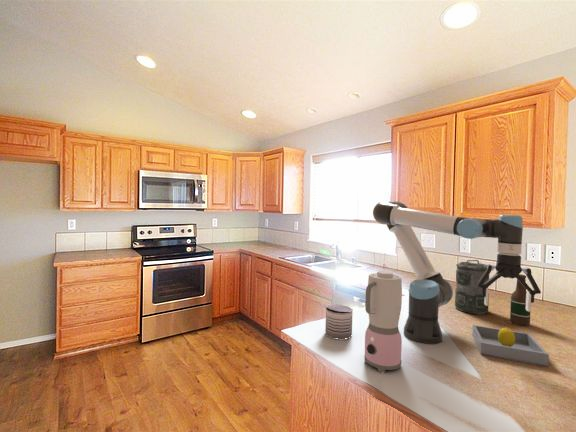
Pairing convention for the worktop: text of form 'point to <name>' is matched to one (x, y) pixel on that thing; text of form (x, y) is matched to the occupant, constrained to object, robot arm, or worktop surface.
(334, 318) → the can
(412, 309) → the robot arm
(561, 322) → the worktop surface
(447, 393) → the worktop surface
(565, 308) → the worktop surface
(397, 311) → the blender
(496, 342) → the box
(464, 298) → the canister
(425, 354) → the worktop surface
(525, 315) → the beer bottle
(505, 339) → the lemon
